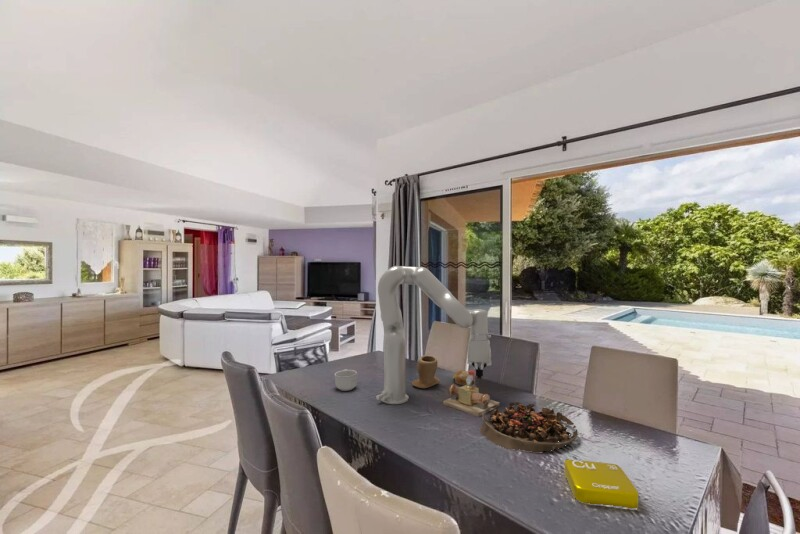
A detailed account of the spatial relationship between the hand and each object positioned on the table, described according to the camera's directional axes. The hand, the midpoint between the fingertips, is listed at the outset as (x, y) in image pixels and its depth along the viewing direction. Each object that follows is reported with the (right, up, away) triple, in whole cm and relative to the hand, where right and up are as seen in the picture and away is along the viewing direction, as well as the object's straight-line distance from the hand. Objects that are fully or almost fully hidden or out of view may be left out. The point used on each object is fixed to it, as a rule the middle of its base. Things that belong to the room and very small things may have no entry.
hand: (479, 377), depth 167 cm
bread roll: (-3, -10, +24) cm, 26 cm away
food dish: (+11, -11, -31) cm, 34 cm away
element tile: (+18, -11, -66) cm, 70 cm away
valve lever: (-5, -1, -3) cm, 5 cm away
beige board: (-5, -10, -7) cm, 13 cm away
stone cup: (-22, -10, +19) cm, 31 cm away
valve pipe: (-6, -9, -8) cm, 13 cm away
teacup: (-62, -10, +15) cm, 65 cm away
